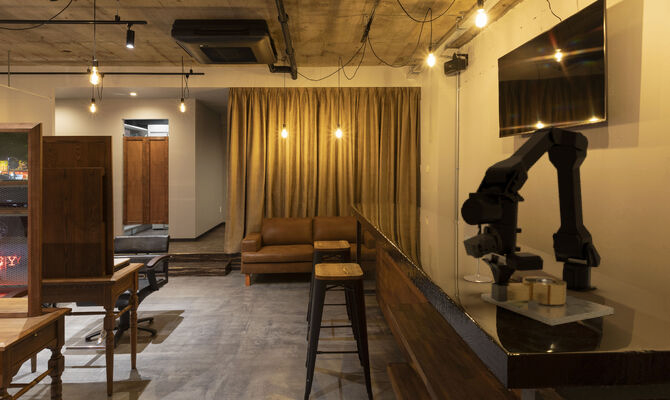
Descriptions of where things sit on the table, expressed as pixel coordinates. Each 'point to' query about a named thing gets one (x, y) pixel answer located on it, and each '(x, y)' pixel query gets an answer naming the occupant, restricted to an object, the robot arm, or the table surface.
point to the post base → (554, 308)
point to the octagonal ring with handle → (530, 291)
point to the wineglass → (477, 277)
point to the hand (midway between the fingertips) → (499, 291)
